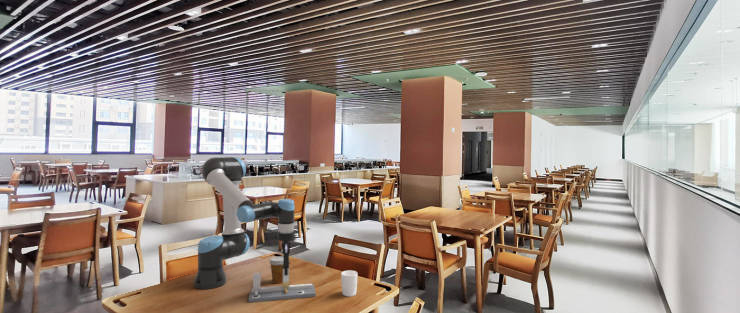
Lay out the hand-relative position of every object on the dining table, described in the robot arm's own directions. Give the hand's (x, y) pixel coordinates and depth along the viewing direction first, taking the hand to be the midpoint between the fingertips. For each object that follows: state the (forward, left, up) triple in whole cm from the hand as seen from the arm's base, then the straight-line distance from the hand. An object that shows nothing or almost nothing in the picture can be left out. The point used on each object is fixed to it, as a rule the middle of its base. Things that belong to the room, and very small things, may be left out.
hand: (285, 280), depth 173 cm
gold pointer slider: (0, -2, -4) cm, 5 cm away
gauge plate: (-1, -2, -6) cm, 7 cm away
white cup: (+30, -8, -6) cm, 31 cm away
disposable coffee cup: (-3, +16, -6) cm, 18 cm away
